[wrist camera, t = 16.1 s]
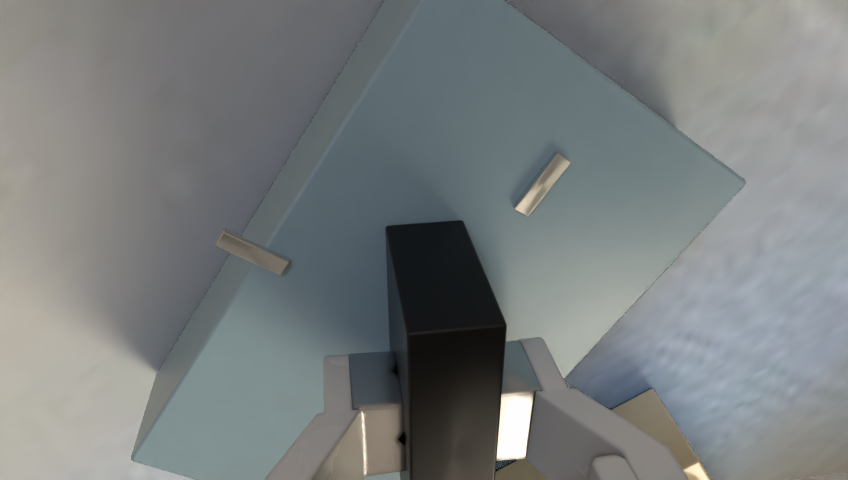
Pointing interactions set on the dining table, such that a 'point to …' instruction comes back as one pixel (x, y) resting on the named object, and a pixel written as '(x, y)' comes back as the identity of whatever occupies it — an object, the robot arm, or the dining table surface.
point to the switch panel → (423, 203)
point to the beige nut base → (647, 417)
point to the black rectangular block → (445, 351)
